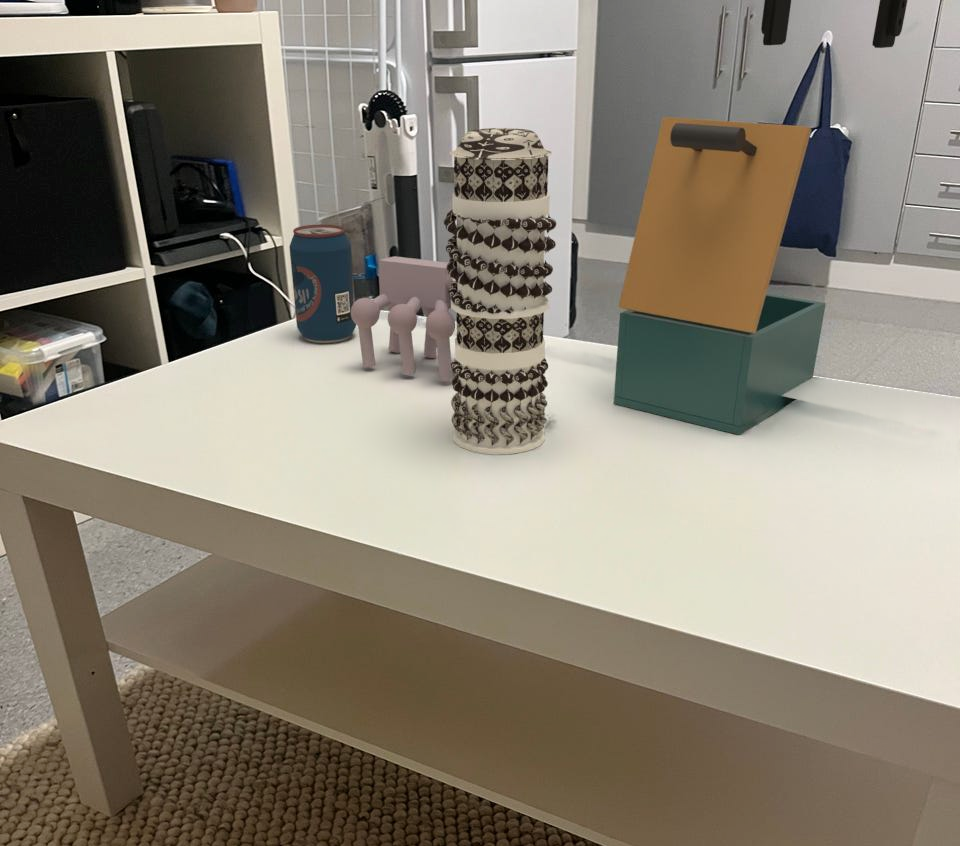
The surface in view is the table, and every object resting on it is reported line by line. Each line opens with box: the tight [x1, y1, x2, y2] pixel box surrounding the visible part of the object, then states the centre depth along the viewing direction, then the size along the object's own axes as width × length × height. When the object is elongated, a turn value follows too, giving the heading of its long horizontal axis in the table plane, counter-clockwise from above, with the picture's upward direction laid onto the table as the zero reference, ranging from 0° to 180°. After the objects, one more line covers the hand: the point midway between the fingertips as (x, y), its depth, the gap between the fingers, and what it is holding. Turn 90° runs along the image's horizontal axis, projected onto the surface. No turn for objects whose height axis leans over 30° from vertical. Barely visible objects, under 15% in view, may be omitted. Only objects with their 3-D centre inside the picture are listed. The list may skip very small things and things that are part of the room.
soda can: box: [288, 224, 357, 344], centre depth 117 cm, size 7×7×12 cm
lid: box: [618, 116, 812, 334], centre depth 87 cm, size 16×14×5 cm
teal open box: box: [613, 292, 827, 435], centre depth 99 cm, size 16×14×9 cm
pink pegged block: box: [351, 255, 456, 382], centre depth 105 cm, size 20×11×14 cm, turn 62°
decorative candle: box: [443, 127, 557, 455], centre depth 85 cm, size 9×9×25 cm
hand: (826, 45), depth 86 cm, fingers open, 9 cm apart
